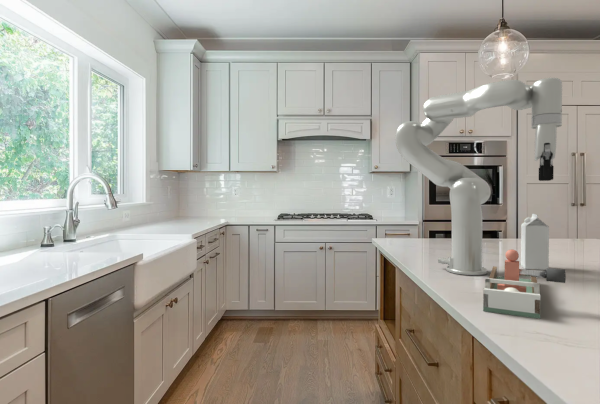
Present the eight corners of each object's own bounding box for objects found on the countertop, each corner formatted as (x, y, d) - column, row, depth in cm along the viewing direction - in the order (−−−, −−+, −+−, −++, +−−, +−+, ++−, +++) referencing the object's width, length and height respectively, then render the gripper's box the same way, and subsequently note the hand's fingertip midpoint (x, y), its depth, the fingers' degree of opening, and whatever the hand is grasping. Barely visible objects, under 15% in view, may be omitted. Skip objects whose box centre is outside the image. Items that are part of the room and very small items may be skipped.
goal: (483, 306, 88) (483, 283, 88) (485, 300, 93) (485, 277, 93) (540, 314, 82) (540, 288, 82) (539, 306, 88) (539, 283, 87)
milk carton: (543, 266, 138) (543, 213, 138) (548, 270, 131) (549, 214, 131) (520, 265, 140) (521, 213, 140) (525, 269, 134) (525, 214, 133)
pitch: (483, 311, 88) (483, 293, 88) (493, 279, 119) (493, 266, 119) (540, 318, 82) (540, 300, 82) (534, 283, 114) (535, 269, 114)
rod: (497, 298, 93) (497, 249, 92) (497, 295, 95) (498, 247, 95) (565, 306, 86) (566, 253, 86) (563, 303, 89) (564, 251, 88)
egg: (501, 286, 89) (502, 285, 92) (501, 304, 88) (501, 303, 92) (521, 288, 87) (521, 287, 90) (521, 306, 86) (521, 305, 90)
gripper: (530, 127, 123) (530, 181, 124) (532, 118, 108) (531, 179, 109) (559, 125, 119) (558, 180, 120) (564, 115, 104) (563, 179, 105)
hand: (545, 180), depth 114 cm, fingers open, 9 cm apart
